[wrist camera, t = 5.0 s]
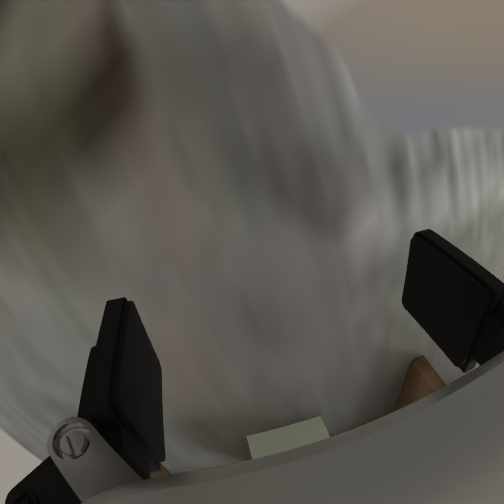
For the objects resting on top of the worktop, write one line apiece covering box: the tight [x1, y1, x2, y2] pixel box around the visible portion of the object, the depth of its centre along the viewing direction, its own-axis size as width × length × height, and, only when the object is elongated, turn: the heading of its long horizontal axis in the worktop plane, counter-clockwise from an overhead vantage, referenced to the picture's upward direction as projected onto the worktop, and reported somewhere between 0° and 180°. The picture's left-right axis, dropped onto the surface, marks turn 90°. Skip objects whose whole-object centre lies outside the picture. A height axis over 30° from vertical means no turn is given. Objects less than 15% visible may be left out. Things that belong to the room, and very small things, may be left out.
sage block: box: [246, 415, 330, 459], centre depth 16 cm, size 5×5×8 cm
